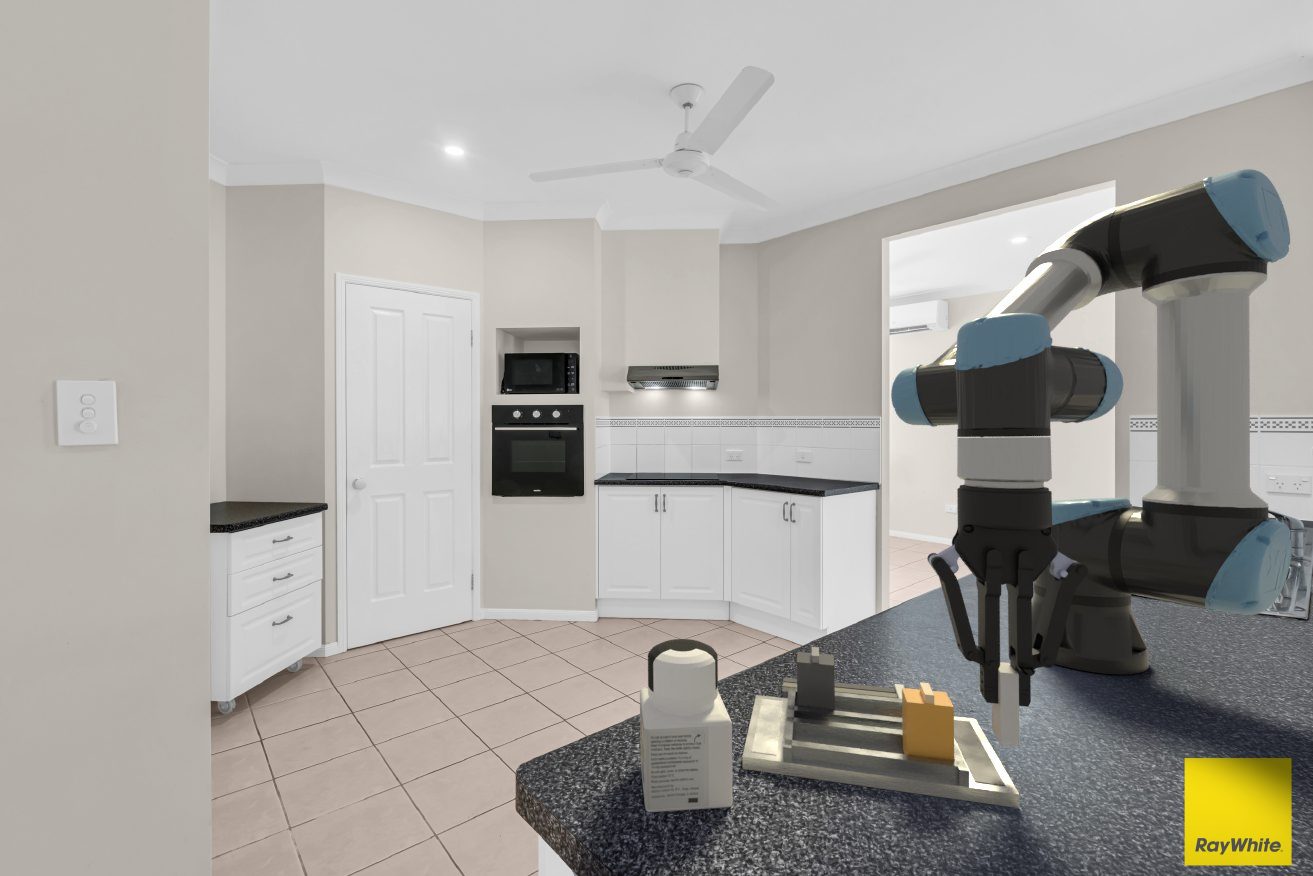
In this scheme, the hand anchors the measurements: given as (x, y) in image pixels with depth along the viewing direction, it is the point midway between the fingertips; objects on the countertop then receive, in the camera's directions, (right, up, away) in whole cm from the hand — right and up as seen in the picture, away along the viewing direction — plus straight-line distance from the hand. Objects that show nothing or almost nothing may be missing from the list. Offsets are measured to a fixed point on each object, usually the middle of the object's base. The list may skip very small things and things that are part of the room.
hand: (1005, 737), depth 53 cm
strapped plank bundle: (-8, -5, +17) cm, 19 cm away
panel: (-11, -5, +7) cm, 13 cm away
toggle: (-14, -3, +12) cm, 19 cm away
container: (-30, -5, 0) cm, 30 cm away
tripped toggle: (-6, -3, +2) cm, 7 cm away
